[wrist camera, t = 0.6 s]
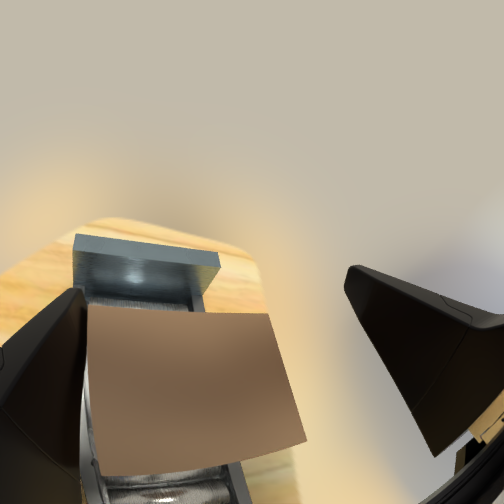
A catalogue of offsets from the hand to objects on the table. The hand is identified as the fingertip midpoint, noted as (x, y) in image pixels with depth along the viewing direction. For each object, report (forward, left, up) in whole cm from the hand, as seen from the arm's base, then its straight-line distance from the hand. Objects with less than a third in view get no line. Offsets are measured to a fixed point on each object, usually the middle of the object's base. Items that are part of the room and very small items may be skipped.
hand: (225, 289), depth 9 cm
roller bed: (-2, +1, -12) cm, 12 cm away
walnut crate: (-3, +1, -9) cm, 10 cm away
